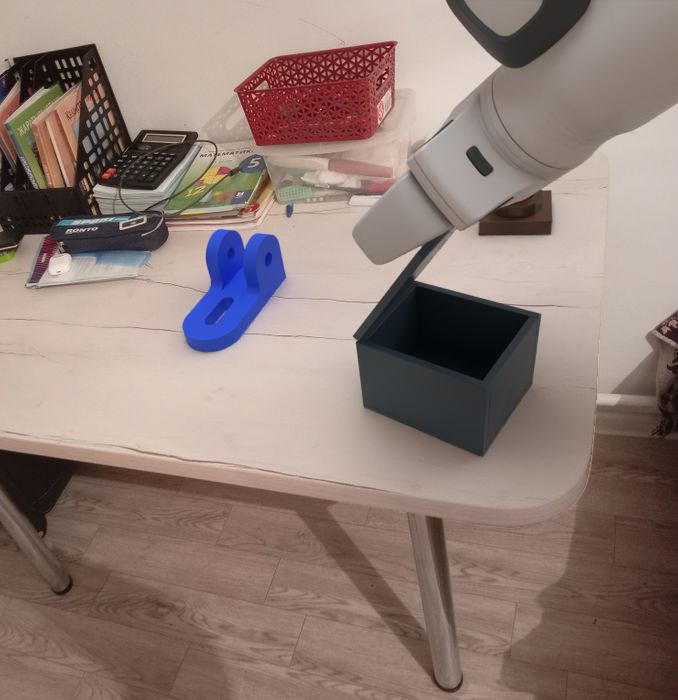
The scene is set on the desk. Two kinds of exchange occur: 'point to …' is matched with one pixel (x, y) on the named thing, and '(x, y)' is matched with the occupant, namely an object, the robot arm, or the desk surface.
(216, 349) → the bracket
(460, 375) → the open box
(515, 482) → the desk surface
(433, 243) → the box lid
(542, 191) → the control block
